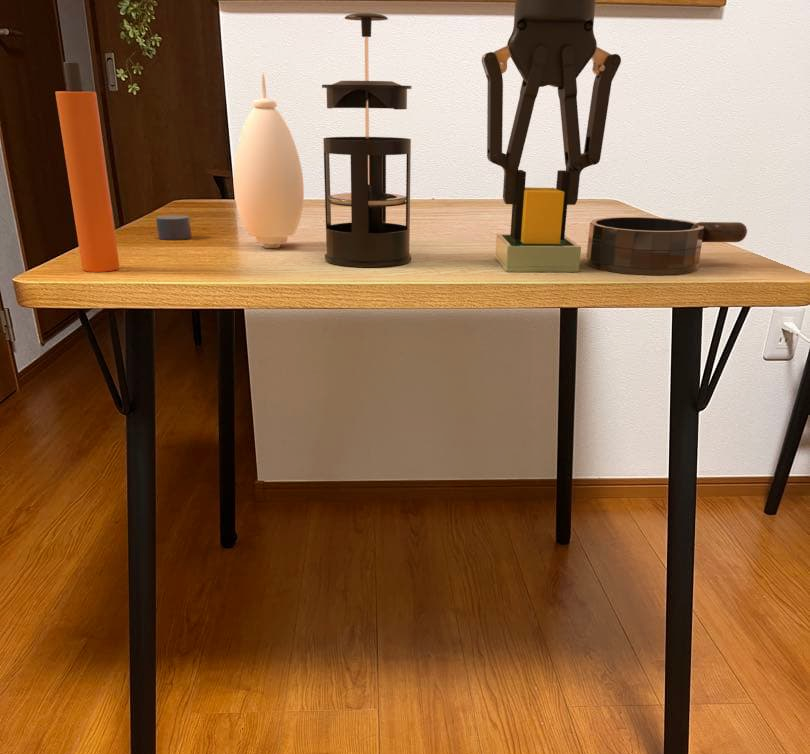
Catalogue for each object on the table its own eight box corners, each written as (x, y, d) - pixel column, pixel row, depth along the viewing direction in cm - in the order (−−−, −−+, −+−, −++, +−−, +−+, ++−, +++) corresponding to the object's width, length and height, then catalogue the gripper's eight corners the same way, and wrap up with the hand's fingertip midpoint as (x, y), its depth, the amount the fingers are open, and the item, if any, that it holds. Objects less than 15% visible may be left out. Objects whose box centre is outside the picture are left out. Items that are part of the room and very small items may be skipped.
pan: (600, 275, 89) (605, 231, 87) (576, 255, 99) (579, 216, 97) (713, 275, 89) (720, 232, 87) (677, 256, 99) (683, 217, 97)
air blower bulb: (309, 242, 106) (303, 73, 98) (301, 252, 99) (293, 72, 91) (245, 241, 106) (233, 72, 98) (232, 251, 99) (218, 71, 91)
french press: (403, 270, 90) (406, 8, 79) (314, 266, 91) (305, 8, 80) (418, 252, 100) (422, 18, 90) (338, 249, 101) (333, 18, 91)
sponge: (514, 246, 95) (518, 187, 92) (549, 247, 95) (554, 187, 93) (522, 254, 90) (526, 191, 87) (559, 254, 90) (564, 191, 88)
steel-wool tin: (198, 237, 108) (196, 216, 107) (172, 241, 106) (170, 220, 104) (177, 234, 111) (175, 214, 109) (151, 237, 108) (149, 217, 107)
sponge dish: (578, 272, 90) (581, 246, 89) (506, 271, 90) (507, 246, 88) (562, 258, 97) (564, 234, 96) (495, 257, 97) (496, 234, 96)
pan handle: (692, 243, 92) (695, 223, 91) (685, 240, 94) (688, 220, 93) (748, 243, 92) (751, 223, 91) (740, 240, 94) (744, 221, 93)
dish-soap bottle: (122, 265, 91) (95, 63, 82) (116, 271, 87) (87, 62, 79) (86, 265, 90) (55, 62, 82) (79, 272, 87) (46, 61, 79)
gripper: (471, -32, 78) (460, 242, 89) (658, -29, 79) (625, 244, 89) (463, -23, 85) (454, 232, 95) (635, -19, 85) (607, 233, 96)
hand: (536, 237), depth 92 cm, fingers closed on sponge, 4 cm apart
